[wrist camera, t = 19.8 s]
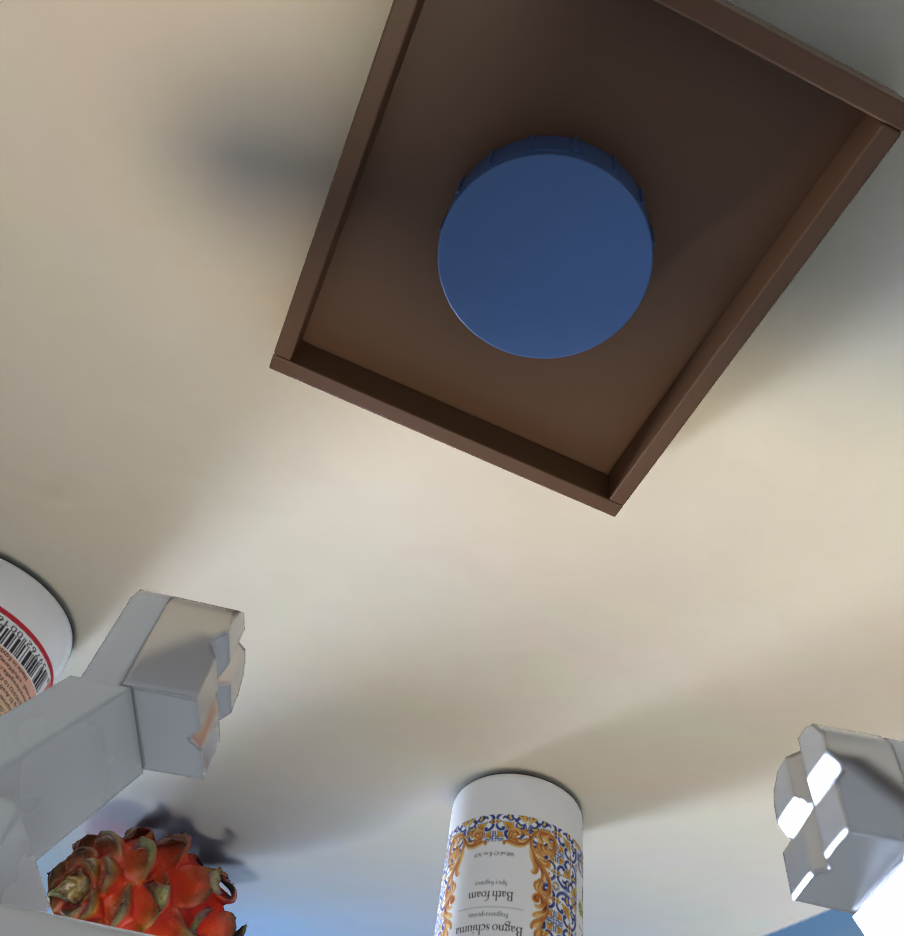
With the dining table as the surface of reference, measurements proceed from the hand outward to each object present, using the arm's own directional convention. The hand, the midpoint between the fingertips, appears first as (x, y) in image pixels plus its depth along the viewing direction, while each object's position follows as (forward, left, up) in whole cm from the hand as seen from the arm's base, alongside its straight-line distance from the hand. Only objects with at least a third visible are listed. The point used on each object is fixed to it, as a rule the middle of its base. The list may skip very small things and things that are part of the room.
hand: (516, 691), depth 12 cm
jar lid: (0, 0, -16) cm, 16 cm away
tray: (0, 0, -18) cm, 18 cm away
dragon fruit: (+45, -3, -18) cm, 49 cm away
